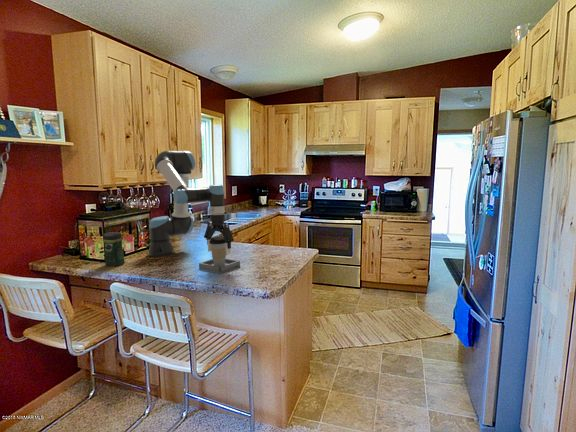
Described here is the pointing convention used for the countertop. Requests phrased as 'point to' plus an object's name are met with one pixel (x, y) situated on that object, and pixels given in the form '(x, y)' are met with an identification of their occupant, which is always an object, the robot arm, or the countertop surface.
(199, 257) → the countertop surface
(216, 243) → the coffee cup
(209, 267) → the tray
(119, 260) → the coffee jar
